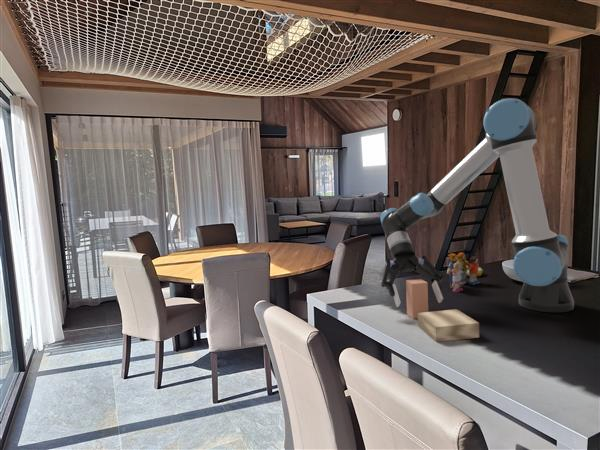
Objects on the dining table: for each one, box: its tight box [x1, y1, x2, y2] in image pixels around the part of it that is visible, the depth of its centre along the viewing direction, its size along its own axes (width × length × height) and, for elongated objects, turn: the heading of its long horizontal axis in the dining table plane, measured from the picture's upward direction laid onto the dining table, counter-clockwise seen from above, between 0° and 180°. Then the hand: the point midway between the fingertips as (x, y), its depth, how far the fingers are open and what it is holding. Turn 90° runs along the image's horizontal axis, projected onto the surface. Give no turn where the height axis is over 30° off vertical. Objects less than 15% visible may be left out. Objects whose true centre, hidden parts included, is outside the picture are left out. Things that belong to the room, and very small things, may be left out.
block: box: [405, 278, 429, 320], centre depth 127 cm, size 5×5×11 cm
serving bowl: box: [501, 258, 524, 283], centre depth 159 cm, size 21×21×7 cm
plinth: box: [417, 308, 480, 343], centre depth 112 cm, size 12×12×4 cm
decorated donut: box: [466, 267, 484, 278], centre depth 175 cm, size 10×11×4 cm
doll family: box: [446, 252, 480, 293], centre depth 158 cm, size 21×10×13 cm, turn 132°
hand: (419, 302), depth 124 cm, fingers open, 13 cm apart
